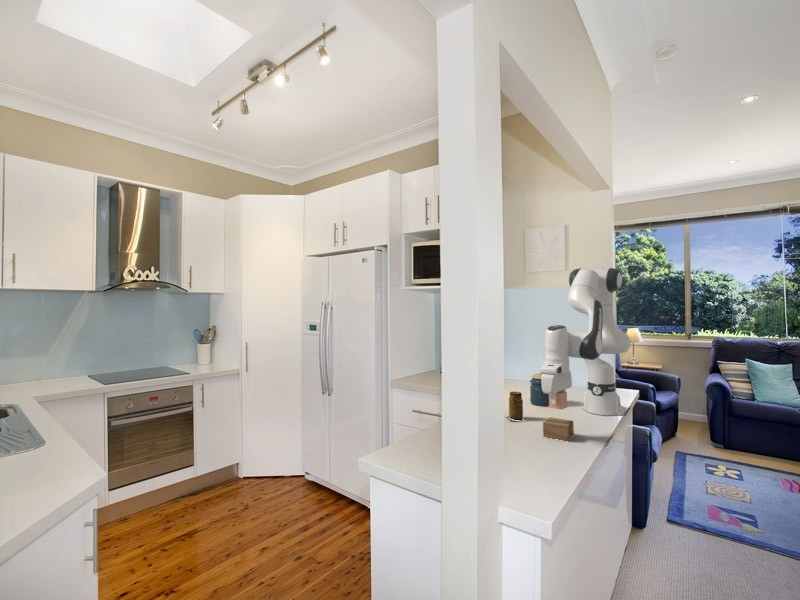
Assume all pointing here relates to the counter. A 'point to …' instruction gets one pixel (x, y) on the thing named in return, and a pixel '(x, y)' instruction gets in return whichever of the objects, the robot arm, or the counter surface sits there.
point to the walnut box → (558, 429)
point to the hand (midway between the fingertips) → (558, 402)
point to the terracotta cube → (559, 401)
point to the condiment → (516, 406)
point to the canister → (538, 391)
